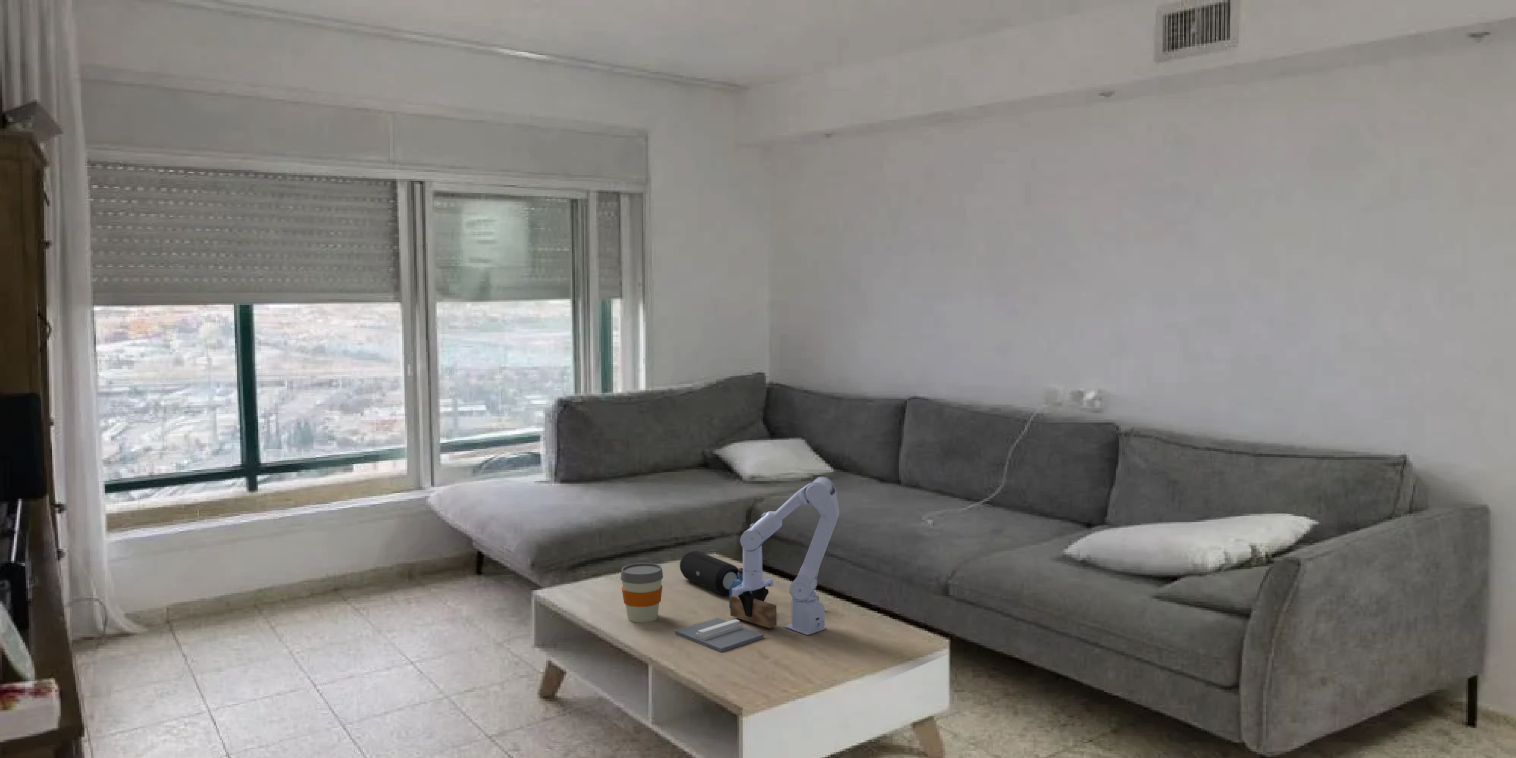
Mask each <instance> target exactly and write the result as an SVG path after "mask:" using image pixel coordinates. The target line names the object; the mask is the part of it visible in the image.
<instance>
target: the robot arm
mask: <svg viewBox="0 0 1516 758" xmlns="http://www.w3.org/2000/svg"><path fill="white" fill-rule="evenodd" d="M809 504H812V506H813V507H814V508H815V509H816V510H817V512H818V513H819V516H820V518H819V521H818V524H817V526H816V528H815V531H814V534H813V535H812V539H811V542H810V544H809V547H808V550H807V552H806V555H805V557H804V560H803V563H802V566H801V567H800V568H799V571H798V573H797V576H796V577H795V578H794V580H793V581H792V582H791V583H790V585H789V594H790V597H791V601H790V602H791V603H790V604H791V605H790V606H791V608H790V613H791V617H790V618H791V623H789V624H786V625H784V628H787V629H789V630H792V631H794V632H798V633H800V634H804V635H807V636H808V635H809V636H810V635H813V634H815V633H818V632H821V631H824V630H826V629H827V626H825V625H826V624H825V618H826V617H825V605H824V604H823V603H822V602H820V600H819V601H818V600H817V598H816V594H817V593H816V592H815V590H816V588H817V586H818V574H819V572H820V570H819V569H820V566H821V565H822V564H821V563H822V562H823V558H824V556H825V553H826V550H827V548H828V545H829V543H830V540H831V538H832V535H833V533H834V529H835V527H836V524H837V521H838V518H839V517H840V508H839V507H840V506H839V501H838V497H837V487H835V485H834V483H833V482H832V481H831V479H830V478H829V477H826V476H819V477H818V476H817V477H816V478H815V479H814V480H813V481H812V482H809V483H808V484H806V485H804V486H803V487H802V488H800V489H798V490H797V491H796V492H795V493H794V494H793V495H792V496H791V497H790V498H788V499H787V500H786V501H785V502H784V503H783V504H782V505H781V506H780V507H779V508H777V510H775V511H774V510H773V511H770V510H768V511H767V512H766V511H764V512H763V513H762V514H761V515H760V517H761V518H759V519H758V520H757V521H756V522H754V523H753V522H752V523H751V524H750V525H749V528H748V529H747V530H745V531H743V533H742V534H741V536H740V539H739V544H740V545H741V547H742V568H743V581H742V584H741V585H739V586H737V587H735V588H732V595H734V596H738V597H739V599H740V601H741V603H742V605H743V608H744V612H745V616H748V617H752V605H753V600H754V599H757V600H760V601H764V602H765V600H766V597H767V596H768V594H769V589H767V587H773V586H774V579H772V578H763V545H762V544H764V542H765V541H766V540H767V539H769V538H770V537H771V536H772V535H774V533H776V532H777V531H778V530H780V528H781V527H783V526H782V525H783V520H784V519H785V518H786V517H787V516H788V515H790V514H791V513H793V512H794V510H796V509H797V508H798V507H800V506H801V505H809ZM750 591H752V594H751V593H750ZM815 593H816V594H815Z"/></svg>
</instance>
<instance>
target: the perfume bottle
mask: <svg viewBox="0 0 1516 758" xmlns="http://www.w3.org/2000/svg"><path fill="white" fill-rule="evenodd" d="M738 571H739V572H738V577H739V579H737V580H734V582H733V583H732V585H731V586H730V588H729V595H728V596H729V597H728V598H729V599H728V601H729V602H728V603H729V604H728V605H729V609H730V596H732V588H735V587H737V586H739V585H741V584H742V581H743V567H740V568H738ZM750 593H751V594H752V591H750Z"/></svg>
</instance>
